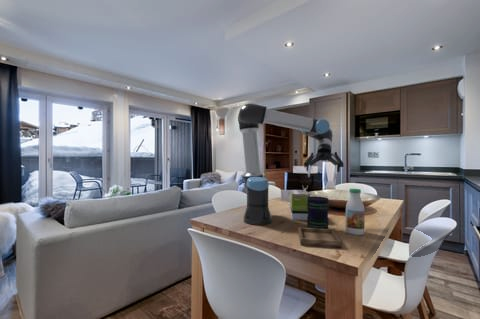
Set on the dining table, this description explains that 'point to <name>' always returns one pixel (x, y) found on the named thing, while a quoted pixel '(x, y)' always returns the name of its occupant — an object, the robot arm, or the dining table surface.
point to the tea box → (299, 204)
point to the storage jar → (317, 212)
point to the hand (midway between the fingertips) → (322, 175)
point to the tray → (319, 237)
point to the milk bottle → (355, 213)
